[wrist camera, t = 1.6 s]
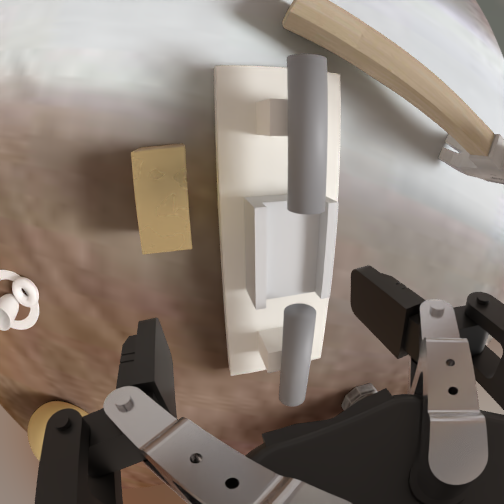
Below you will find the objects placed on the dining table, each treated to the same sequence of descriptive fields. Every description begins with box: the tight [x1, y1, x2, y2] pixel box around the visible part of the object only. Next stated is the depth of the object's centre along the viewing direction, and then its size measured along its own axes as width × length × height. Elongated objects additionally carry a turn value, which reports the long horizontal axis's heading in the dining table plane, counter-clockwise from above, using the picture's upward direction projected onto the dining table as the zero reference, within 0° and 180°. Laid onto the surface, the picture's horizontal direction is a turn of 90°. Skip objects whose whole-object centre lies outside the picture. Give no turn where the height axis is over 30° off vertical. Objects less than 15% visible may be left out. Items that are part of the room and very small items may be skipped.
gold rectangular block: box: [131, 143, 192, 254], centre depth 25 cm, size 4×8×6 cm, turn 1°
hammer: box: [282, 0, 504, 184], centre depth 24 cm, size 16×5×30 cm
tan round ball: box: [28, 401, 88, 461], centre depth 31 cm, size 11×12×11 cm
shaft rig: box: [214, 54, 341, 406], centre depth 29 cm, size 12×34×8 cm, turn 1°
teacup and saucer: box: [0, 270, 39, 331], centre depth 26 cm, size 9×8×4 cm
